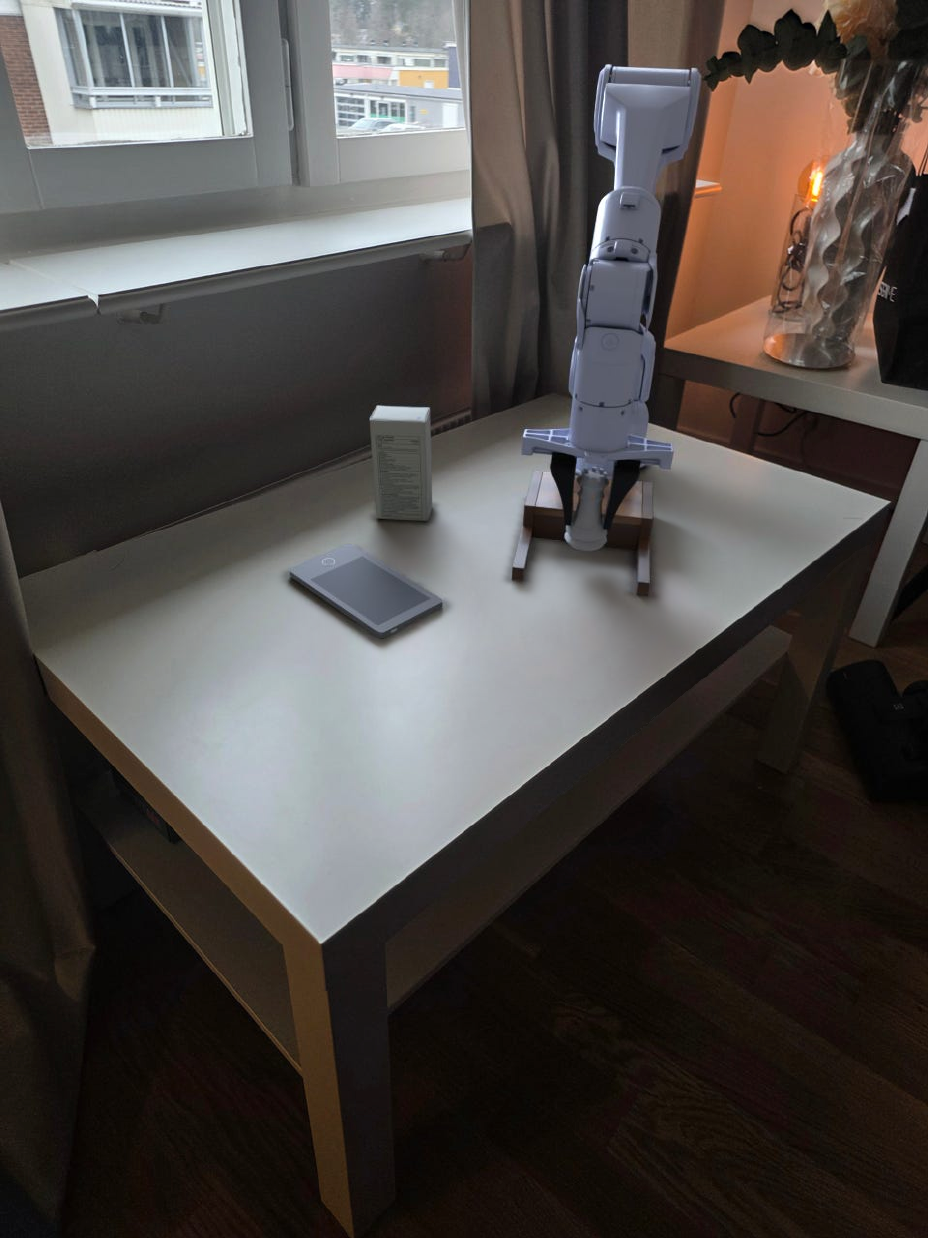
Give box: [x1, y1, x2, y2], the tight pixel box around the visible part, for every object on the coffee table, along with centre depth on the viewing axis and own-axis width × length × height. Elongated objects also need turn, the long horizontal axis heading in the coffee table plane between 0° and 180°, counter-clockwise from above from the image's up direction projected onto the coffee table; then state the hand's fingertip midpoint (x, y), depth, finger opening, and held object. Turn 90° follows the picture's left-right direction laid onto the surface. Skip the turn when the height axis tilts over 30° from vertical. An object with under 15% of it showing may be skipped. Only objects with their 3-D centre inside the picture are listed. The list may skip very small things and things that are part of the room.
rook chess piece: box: [565, 467, 609, 552], centre depth 86 cm, size 4×4×8 cm
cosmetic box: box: [369, 405, 433, 522], centre depth 95 cm, size 6×4×12 cm
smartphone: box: [289, 543, 443, 639], centre depth 84 cm, size 15×8×1 cm, turn 44°
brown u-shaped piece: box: [511, 470, 654, 596], centre depth 92 cm, size 18×14×4 cm
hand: (587, 523), depth 87 cm, fingers closed on rook chess piece, 3 cm apart
